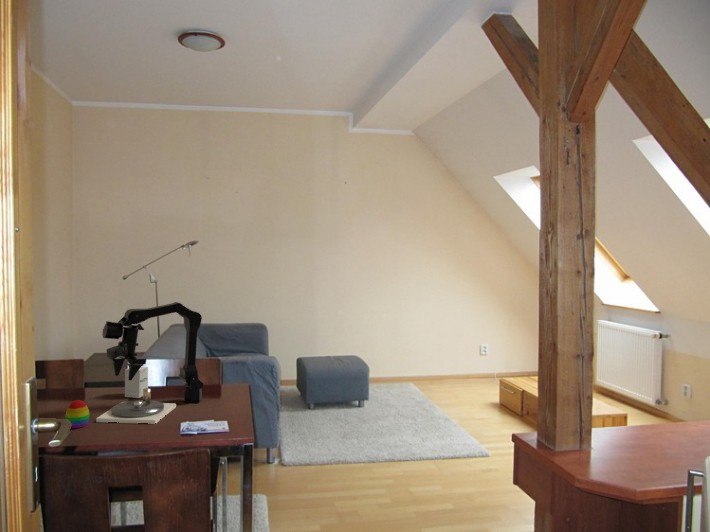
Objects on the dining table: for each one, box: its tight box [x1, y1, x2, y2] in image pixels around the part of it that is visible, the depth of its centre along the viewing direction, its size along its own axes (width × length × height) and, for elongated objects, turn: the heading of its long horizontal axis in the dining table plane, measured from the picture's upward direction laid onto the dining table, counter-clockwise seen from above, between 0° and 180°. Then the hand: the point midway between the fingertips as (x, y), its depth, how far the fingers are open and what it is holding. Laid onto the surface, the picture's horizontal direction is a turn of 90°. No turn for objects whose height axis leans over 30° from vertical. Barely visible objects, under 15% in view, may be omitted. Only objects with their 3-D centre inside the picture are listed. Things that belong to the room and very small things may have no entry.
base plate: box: [95, 401, 177, 425], centre depth 236 cm, size 23×23×2 cm
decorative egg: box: [64, 399, 90, 429], centre depth 219 cm, size 8×8×10 cm
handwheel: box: [110, 387, 164, 417], centre depth 236 cm, size 20×20×6 cm
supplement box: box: [124, 366, 149, 399], centre depth 263 cm, size 7×7×13 cm
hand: (123, 378), depth 238 cm, fingers open, 9 cm apart
